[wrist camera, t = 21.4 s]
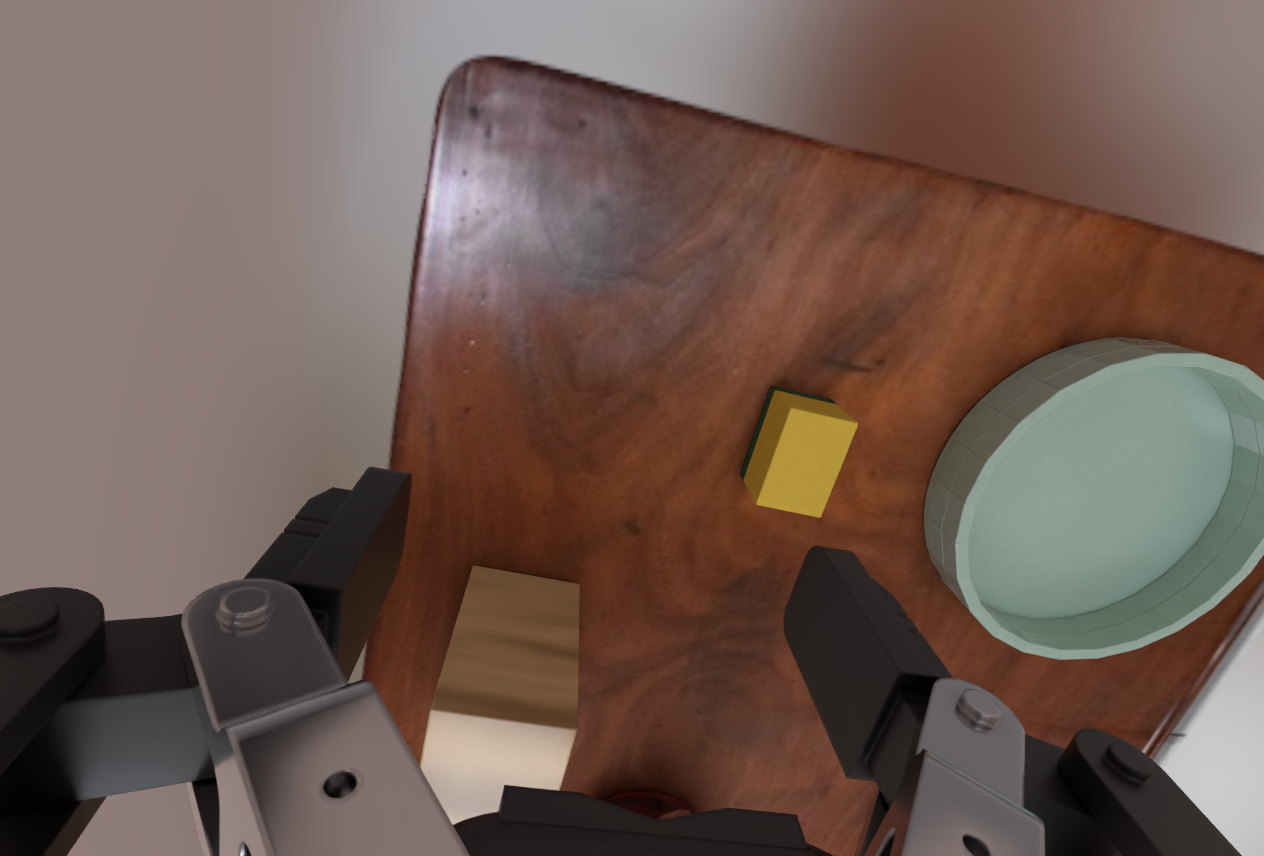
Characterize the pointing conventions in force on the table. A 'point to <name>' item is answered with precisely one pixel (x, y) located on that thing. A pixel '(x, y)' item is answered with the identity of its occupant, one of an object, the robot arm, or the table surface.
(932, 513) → the bowl
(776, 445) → the sponge
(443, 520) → the table surface
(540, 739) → the sponge stand
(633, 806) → the decorative planter
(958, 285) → the table surface
